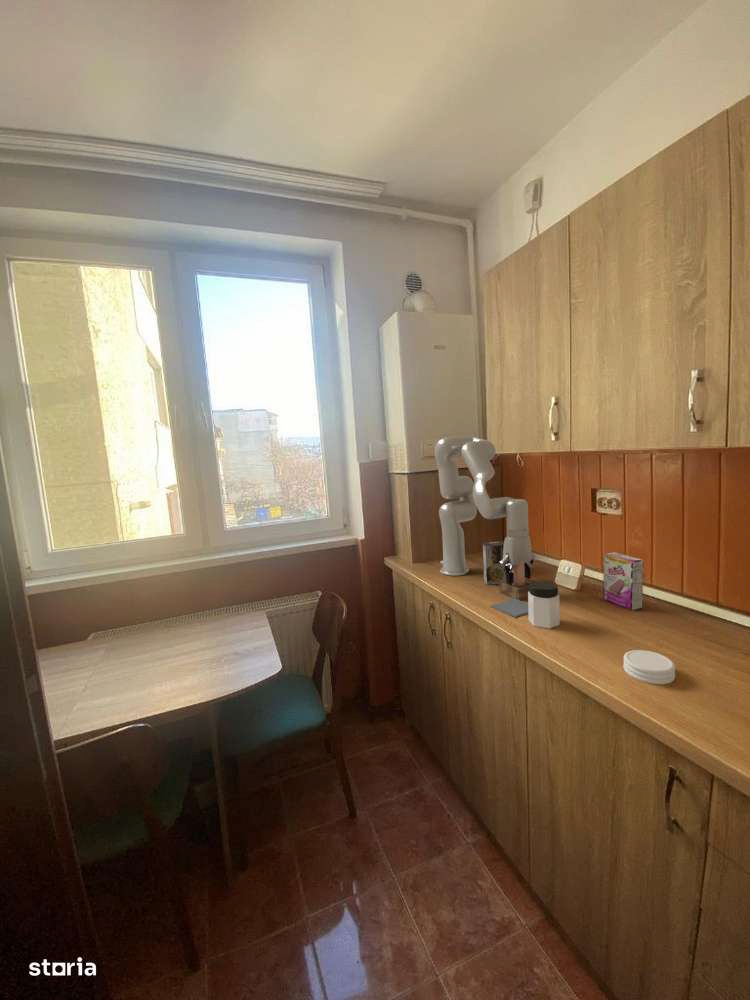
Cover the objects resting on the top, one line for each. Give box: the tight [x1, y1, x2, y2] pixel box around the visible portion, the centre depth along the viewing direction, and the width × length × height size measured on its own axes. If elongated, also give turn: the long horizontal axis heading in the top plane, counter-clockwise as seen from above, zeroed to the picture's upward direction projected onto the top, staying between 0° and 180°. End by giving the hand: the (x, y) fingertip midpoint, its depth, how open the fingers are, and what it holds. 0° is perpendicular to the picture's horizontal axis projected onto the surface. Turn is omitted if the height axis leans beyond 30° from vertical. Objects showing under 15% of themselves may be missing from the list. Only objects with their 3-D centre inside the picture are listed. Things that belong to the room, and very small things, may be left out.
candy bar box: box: [602, 551, 644, 611], centre depth 133 cm, size 11×5×16 cm, turn 18°
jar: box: [527, 580, 561, 630], centre depth 123 cm, size 9×8×12 cm
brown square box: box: [499, 579, 533, 601], centre depth 149 cm, size 9×9×4 cm
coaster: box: [623, 649, 676, 685], centre depth 94 cm, size 10×10×4 cm
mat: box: [490, 598, 529, 618], centre depth 136 cm, size 11×11×1 cm
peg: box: [512, 561, 526, 588], centre depth 148 cm, size 4×4×13 cm
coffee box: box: [482, 541, 507, 585], centre depth 163 cm, size 9×6×16 cm
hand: (518, 579), depth 148 cm, fingers open, 7 cm apart
